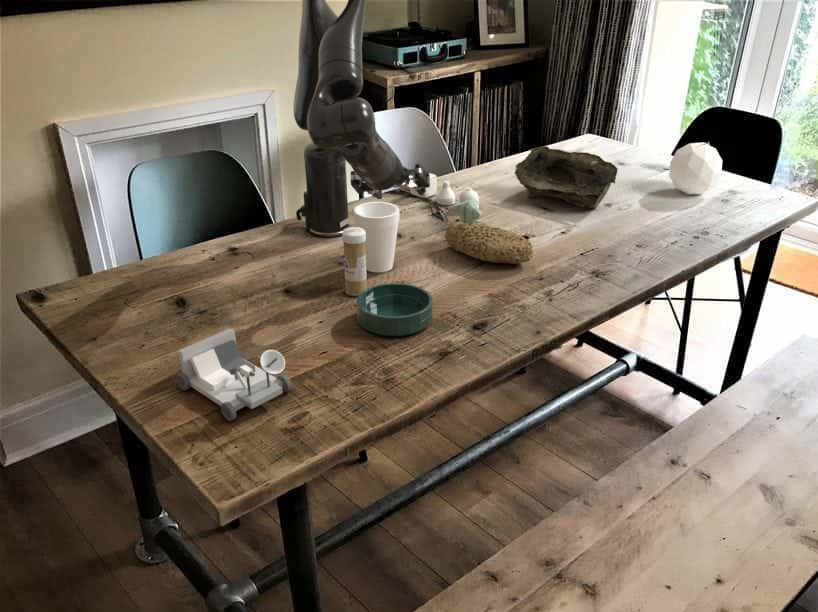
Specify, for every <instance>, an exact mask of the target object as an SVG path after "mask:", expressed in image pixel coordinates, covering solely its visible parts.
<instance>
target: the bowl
mask: <svg viewBox="0 0 818 612" xmlns="http://www.w3.org/2000/svg"><path fill="white" fill-rule="evenodd" d="M433 303H434V298H433V296H432V295H431V293H430V292H429V291H428V290H426V289H424V288H423V287H420V286H417V285H415V284H410V283H402V282H389V283H380V284H376V285H373V286H370V287H367V289H366V290H364V291H363V292H362V293H361V294H360V295H358V296H357V298H356V318H357V321H358V324H359V325H360V326H361V327H362V328H363V329H365V330H367V331H369V332H370V333H371V332H372V333H373V334H376V335H379V336H385V337H405V336H409V335H413V334H416V333H418V332H420V331H422V330H423V329H425V328H427V327H429V325H430V324H431V323H432V321H433V315H434V314H433V308H434V306H433V305H434V304H433Z"/></svg>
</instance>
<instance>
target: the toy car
mask: <svg viewBox="0 0 818 612" xmlns="http://www.w3.org/2000/svg"><path fill="white" fill-rule="evenodd" d="M236 338H237V337H236V331H235V329H233V328H228V329H226V330H223V331H221V332H219V333H216V334H214V335H212V336H209V337H207V338H205V339H201V340H200V341H198V342H195V343H193V344H190V345H188V346H185V347H183V348H181V349H179V350H177V351H178V355H179V362H180V367H181V371H180V372H178V373H177V374H175V379H176V383H177V385H178V387H179V388H180V389H181V390H182V391H188V390H189V389H191V388H193V389H194V390H196V391H197V392H199V393H200V394H201V395H203V396H205V397H206V398H208V399H209V400H211V401H212V402H214V403H215V404H217V405H218V406H220V410H221V414H222V415H223V416H224V418H225V419H226V420H227V421H229V422H232V421H234V420H236V419H237V417H238V415H237V411H239V410H241V409H243V408H244V407H248V408H249V409H251V410H253V409H254V408H257V407H259V406H260V405H263V404H265V403H266V402H268V401H270V400H272V399H274V398H276V397H278V396H280V395H282V394H283V393H288V392H291V390H292V389H293V388H292V387H293V386H292V381H291V380H290V378H289V376H287V375H286V374H284V373H282V372H283V370H284V369H285V368H286V360H285V358H284V356H283V354H282V353H281V352H279V351H278V350H275V349H268V350H265V351H263V352H262V354H261V356H260V366H261V368H260V367H258V366H257V365H255V364H253V363H252V362H250V361H248V360H247V359H246V355H245V352H244V351H243V350H242V349H241V348H240V347H238V345H237V339H236ZM280 373H281V374H280ZM278 374H279V375H278ZM273 375H278V376H277V377H275V376H273Z"/></svg>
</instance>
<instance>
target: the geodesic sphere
mask: <svg viewBox="0 0 818 612" xmlns="http://www.w3.org/2000/svg"><path fill="white" fill-rule="evenodd" d="M710 144H711V143H710V141H708V142H692V143H691V142H690V143H688V144H686V145H684V146H682V147H680V148H679V149H676V150H675V153H674V154H673V157H672V158H671V160H670V162H669V178H670V180H671V182H672V183H673V185H674V187H675V189H678V190H679V191H681V192H682V193H684V194H685V195H703V194H705V193H706V192H708V191H711V190H712V189H714V188H715V187H716V186H717V183H718V182H719V179H720V178H721V176H722V168H723V159H722V157H721V156H720V154H719V152H718V150H717V148H715V147H714V146H711V145H710Z"/></svg>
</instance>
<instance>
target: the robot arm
mask: <svg viewBox="0 0 818 612" xmlns="http://www.w3.org/2000/svg"><path fill="white" fill-rule="evenodd" d="M367 2H368V0H347V2H346V5H345V7H344V9H342V12H341V13H340V14H339V15H337V14H336V13H335V11H334V10H333V8H332V7H331V6H330V5H329V4H328V2H327V1H326V0H302V1H301V3H302V6H301V8H302V9H301V20H300V30H299V38H298V63H297V64H298V66H297V67H298V68H297V69H298V70H297V79H296V85H295V90H294V95H293V97H294V98H293V117H294V121H295V123H296V125H297V126H298V127H299V129H301V130H303V131H305V132H306V131H307V132H308V136H309V138H310V140H311V141H312V142H310V143H309V144H307V145H306V146H305V147H304V149H303V157H304V158H303V159H304V160H303V161H304V171H305V173H304V174H305V183H306V184H305V185H306V191H304V192H303V205H302V206H300V207H299V208H298V209H297V210H296V212H295V217H296V218H297V221H301V220H302V217H303V218H304V217H305V218H304V219H305V230H306V232H308V233H310V234H312V235H314V236H317V237H320V238H321V237H322V238H334V237H339V236H342V231H343V230H344V229H346V228H350V217H349V202H348V201H349V200H348V183H347V181H348V180H347V179H348V178H347V163H348V165H350V167H351V168H352V170H350V186H351V187H352V189H354V191H355V192H356V193H357V194H358V195H364V194H365V193H367V194H368V195H371V196H372V197H373V198H376V199H377V200H382V199H383V191H386V190H387V191H388V190H389V189H391V188H394V189H397V188H399V189H404V190H410V188H413V189H415V190H416V191H417V192H418V194H419V195H424V193H425V192H426V188H428V187H430V174H429V173H430V172H429V171H428V170H427V169H426V168H425V167H424V166H423V165H422V164H420V163H416V164H415V165H414V168H410V169H408V168H407V167H406V166H404V165H403V163H402V161H401V159H400V157H398V155H397V154H396V153H395V151H394V150H393V149H392V147H391V146H390V145H389V144H388V143H387V141H386V140H384V139H383V138H382V137H381V136H380V134H379V133H378V131H377V128H376V119H375V118H376V117H375V112H374V110H373V106H372V105H371V104H370V103H369V101H368V100H366V99H364V98H362V97H359V95H360V94H361V92H362V90H363V87H364V86H363V85H364V73H363V72H364V71H363V68H364V67H363V40H364V39H363V38H364V31H365V22H366V13H367ZM413 179H415V184H414V183H413Z"/></svg>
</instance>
